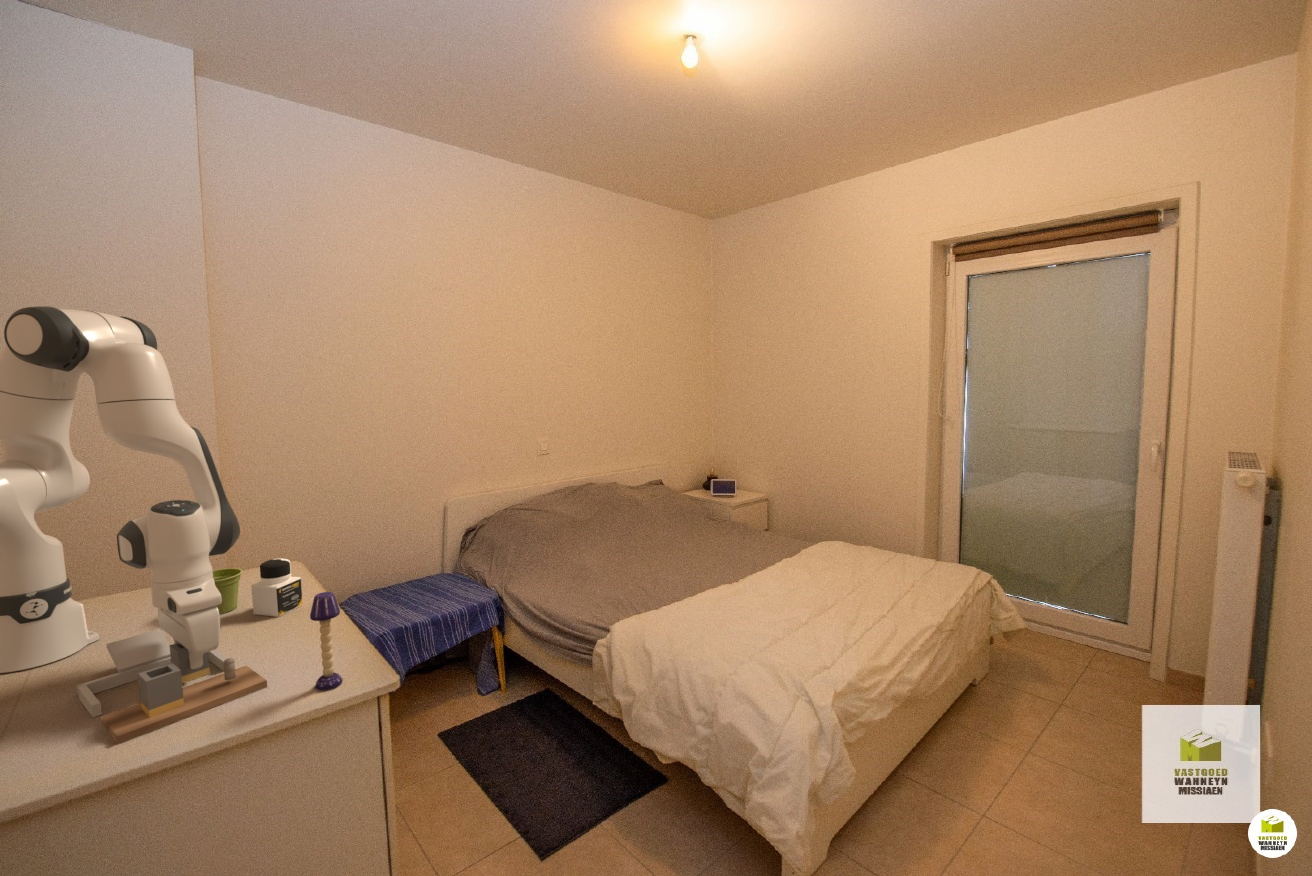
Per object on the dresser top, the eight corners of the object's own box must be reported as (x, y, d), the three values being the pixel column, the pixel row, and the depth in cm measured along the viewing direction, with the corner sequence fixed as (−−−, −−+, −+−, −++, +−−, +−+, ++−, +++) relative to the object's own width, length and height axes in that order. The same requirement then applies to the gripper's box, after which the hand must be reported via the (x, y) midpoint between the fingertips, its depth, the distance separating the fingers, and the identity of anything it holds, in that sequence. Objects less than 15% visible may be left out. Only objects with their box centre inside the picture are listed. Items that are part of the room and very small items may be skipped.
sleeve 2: (172, 676, 108) (169, 645, 107) (201, 666, 111) (198, 636, 110) (180, 683, 105) (177, 651, 104) (209, 673, 109) (207, 642, 108)
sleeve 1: (141, 708, 95) (137, 673, 94) (175, 696, 99) (171, 662, 98) (149, 717, 93) (146, 681, 92) (184, 704, 96) (180, 670, 96)
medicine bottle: (278, 617, 134) (275, 566, 132) (252, 614, 135) (248, 564, 134) (303, 605, 141) (300, 557, 139) (278, 603, 142) (274, 555, 141)
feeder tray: (68, 683, 105) (64, 654, 105) (196, 643, 120) (194, 619, 120) (93, 717, 95) (89, 685, 94) (230, 669, 110) (228, 642, 109)
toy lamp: (310, 683, 105) (304, 594, 103) (338, 674, 108) (333, 587, 107) (320, 693, 102) (314, 601, 100) (348, 683, 105) (343, 594, 103)
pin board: (102, 723, 93) (99, 689, 92) (246, 671, 109) (244, 643, 109) (118, 743, 88) (114, 708, 87) (267, 686, 104) (265, 656, 103)
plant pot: (207, 621, 131) (204, 584, 130) (187, 613, 136) (184, 577, 135) (252, 607, 139) (250, 572, 139) (233, 599, 144) (230, 565, 143)
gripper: (144, 583, 110) (151, 653, 111) (180, 608, 98) (188, 686, 99) (185, 573, 115) (191, 641, 116) (225, 597, 103) (231, 671, 105)
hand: (190, 662), depth 108 cm, fingers closed on sleeve 2, 4 cm apart
